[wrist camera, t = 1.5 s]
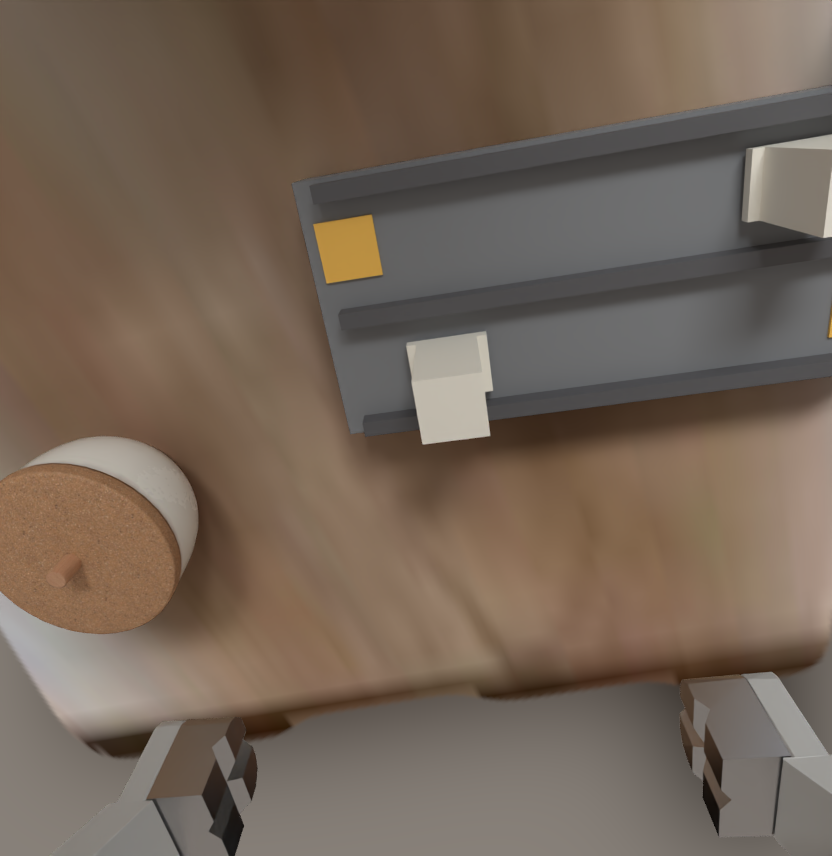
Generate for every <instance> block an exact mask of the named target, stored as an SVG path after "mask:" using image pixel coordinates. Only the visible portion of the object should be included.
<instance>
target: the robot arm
mask: <svg viewBox="0 0 832 856" xmlns="http://www.w3.org/2000/svg"><path fill="white" fill-rule="evenodd" d="M680 698H681V700H682V702H683V704H684V707H685V709H684V710H683V711H682V712H681V713H680V714H679V716H680V732H681V738H682V743H683V747H684V750H685V754H686V757H687V760H688V763H689V765H690V768H691V770H692V772H693V773H694V774H695V775H696V776H697V777H699V778H700V779H701V780H702V781H703V800H704V802H705V804H706V807H707V810H708V812H709V815H710V817H711V820H712V822H713V824H714V827H715V829H716V832H717V834H718V836H719V837H752V836H774V839H775V840H776V841H777V842H778V843H779V844H780V845H781V846H782V847H783V848H784V849H785V850H786V851H787V852H788V853H789V854H790V855H791V856H832V755H829V754H828V753H827V751H826V750H825V748H824V747H823V745H822V744H821V742H820V740H819V739H818V737H817V736H816V734H815V733H814V731H813V730H812V729H811V727H810V725H809V724H808V722H807V721H806V719H805V718H804V716H803V715H802V713H801V712H800V710H799V708H798V707H797V705H796V704H795V702H794V701H793V699H792V698H791V696H790V695H789V693H788V692H787V690H786V689H785V687H784V686H783V684H782V682H781V681H780V679H779V678H778V676H776V675H775V674H774V673H772V672H766V673H754V674H742V675H728V676H717V677H707V678H696V679H685V680H682V681H681V684H680ZM245 732H246V728H245V726H244V724H243V721H242V719H241V718H240V717H225V718H206V719H187V720H176V721H163V722H162V723H160V724H159V725H158V726H157V727H156V728H155V730H154V732H153V734H152V736H151V737H150V739H149V741H148V743H147V745H146V747H145V749H144V751H143V753H142V755H141V757H140V759H139V761H138V762H137V764H136V766H135V768H134V770H133V772H132V774H131V776H130V778H129V780H128V782H127V784H126V786H125V787H124V790H123V791H122V793H121V795H120V797H119V799H118V801H117V802H116V803H109V804H108V805H107V806H106V807H104V808H103V809H102V810H101V811H100V812H99V813H97V814H96V815H95V816H94V817H93V818H92V819H91V820H89V821H88V822H87V823H86V824H85V825H84V826H83V827H81V828H80V829H79V830H78V831H77V832H76V833H75V834H73V835H72V836H71V837H70V838H69V839H68V840H67V841H65V842H64V843H63V844H62V845H61V846H60V847H59V848H57V849H56V850H55V851H54V852H53V853H52V854H51V855H50V856H235V853H236V850H237V847H238V844H239V841H240V837H241V834H242V831H243V828H244V824H243V821H242V819H241V816H240V813H241V812H242V811H243V810H244V809H245V807H247V806H248V804H249V803H250V802H251V801H252V798H253V794H254V791H255V788H256V780H257V769H258V768H257V760H256V755H255V752H254V749H253V747H252V746H251V745H250V744H248V743H247V742H246V741H244V740H243V738H244V735H245Z"/></svg>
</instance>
